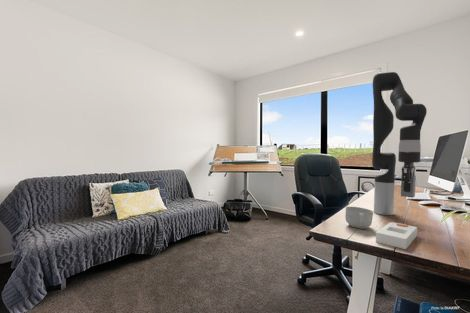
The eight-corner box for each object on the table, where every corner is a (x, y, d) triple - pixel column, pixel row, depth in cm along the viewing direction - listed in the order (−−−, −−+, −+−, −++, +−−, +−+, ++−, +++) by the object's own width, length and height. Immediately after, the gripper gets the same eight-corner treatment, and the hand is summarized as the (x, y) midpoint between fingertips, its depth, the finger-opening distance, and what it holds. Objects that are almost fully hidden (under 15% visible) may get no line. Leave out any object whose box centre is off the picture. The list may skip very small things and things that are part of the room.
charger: (403, 195, 104) (403, 170, 103) (414, 196, 101) (415, 170, 100) (400, 196, 101) (401, 170, 101) (412, 197, 98) (413, 171, 98)
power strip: (390, 230, 100) (390, 220, 100) (417, 235, 94) (417, 225, 93) (375, 241, 86) (376, 230, 86) (405, 249, 80) (405, 237, 80)
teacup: (346, 221, 112) (347, 204, 111) (373, 225, 106) (373, 208, 106) (343, 229, 100) (343, 210, 99) (372, 234, 94) (373, 214, 94)
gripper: (402, 151, 108) (401, 188, 108) (394, 150, 98) (393, 191, 98) (423, 151, 103) (422, 190, 103) (417, 151, 93) (415, 194, 93)
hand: (408, 190), depth 101 cm, fingers closed on charger, 4 cm apart
